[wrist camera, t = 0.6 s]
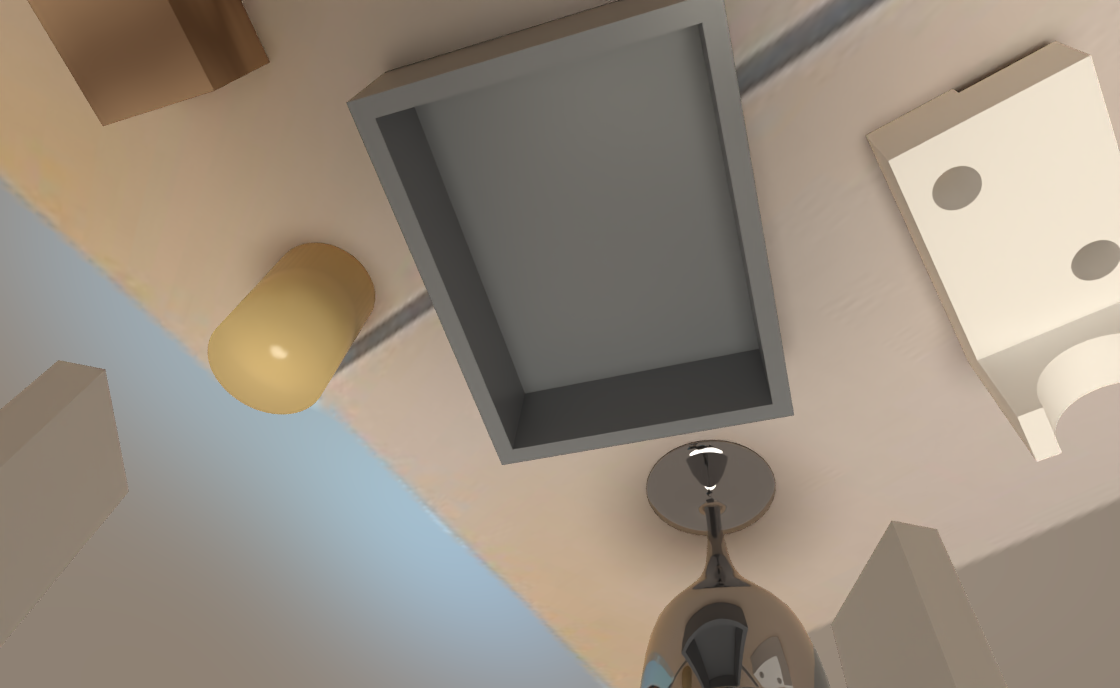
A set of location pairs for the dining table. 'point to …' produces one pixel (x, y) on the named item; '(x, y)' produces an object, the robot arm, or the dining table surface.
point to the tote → (588, 226)
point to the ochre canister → (292, 329)
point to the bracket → (1019, 230)
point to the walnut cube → (150, 49)
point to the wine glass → (722, 582)
